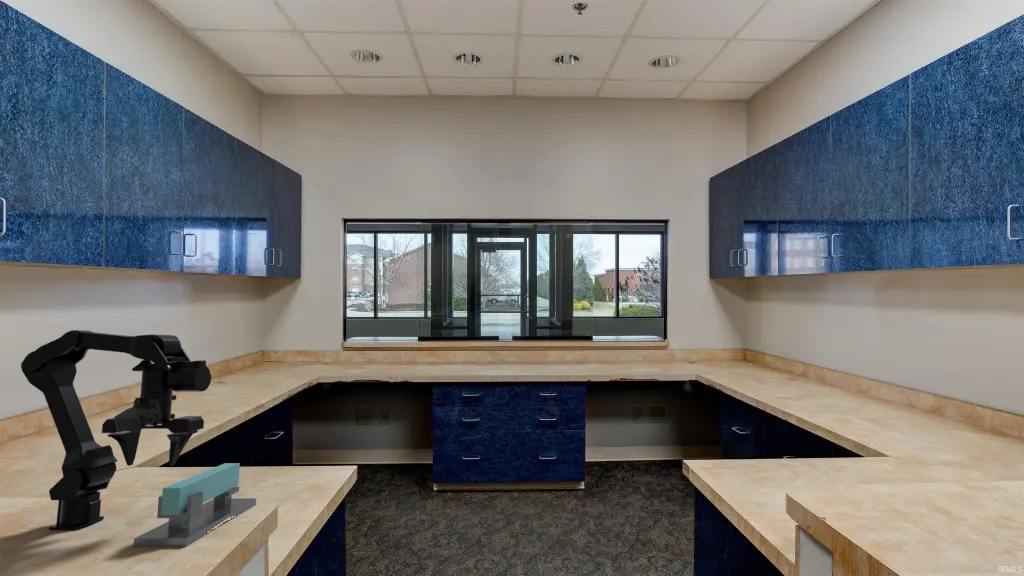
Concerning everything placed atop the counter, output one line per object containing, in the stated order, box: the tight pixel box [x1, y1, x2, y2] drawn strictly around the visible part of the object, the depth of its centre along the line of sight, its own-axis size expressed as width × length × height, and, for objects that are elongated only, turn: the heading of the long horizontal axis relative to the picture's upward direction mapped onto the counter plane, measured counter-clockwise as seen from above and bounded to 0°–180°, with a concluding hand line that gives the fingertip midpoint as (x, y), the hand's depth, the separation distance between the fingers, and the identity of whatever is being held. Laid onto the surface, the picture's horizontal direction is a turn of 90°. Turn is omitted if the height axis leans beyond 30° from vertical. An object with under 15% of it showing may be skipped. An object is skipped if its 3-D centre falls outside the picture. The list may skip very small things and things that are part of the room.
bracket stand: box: [133, 486, 257, 548], centre depth 103 cm, size 10×24×8 cm, turn 179°
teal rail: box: [161, 462, 241, 515], centre depth 104 cm, size 4×20×5 cm, turn 179°
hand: (150, 465), depth 104 cm, fingers open, 9 cm apart
